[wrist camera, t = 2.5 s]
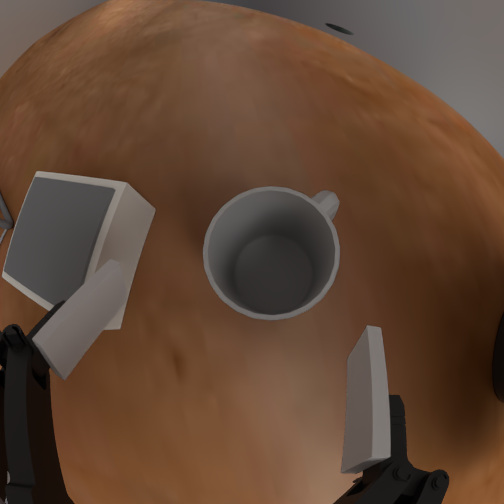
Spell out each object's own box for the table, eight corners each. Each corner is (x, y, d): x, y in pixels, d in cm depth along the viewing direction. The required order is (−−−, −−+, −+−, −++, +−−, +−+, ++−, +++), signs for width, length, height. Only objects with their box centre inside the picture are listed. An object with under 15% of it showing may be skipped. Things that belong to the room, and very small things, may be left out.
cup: (212, 275, 23) (176, 251, 14) (292, 195, 24) (299, 136, 15) (273, 335, 21) (272, 350, 13) (353, 249, 22) (393, 213, 14)
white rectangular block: (156, 209, 25) (124, 180, 19) (120, 329, 23) (77, 330, 16) (67, 191, 27) (34, 169, 21) (37, 284, 25) (-1, 276, 18)
